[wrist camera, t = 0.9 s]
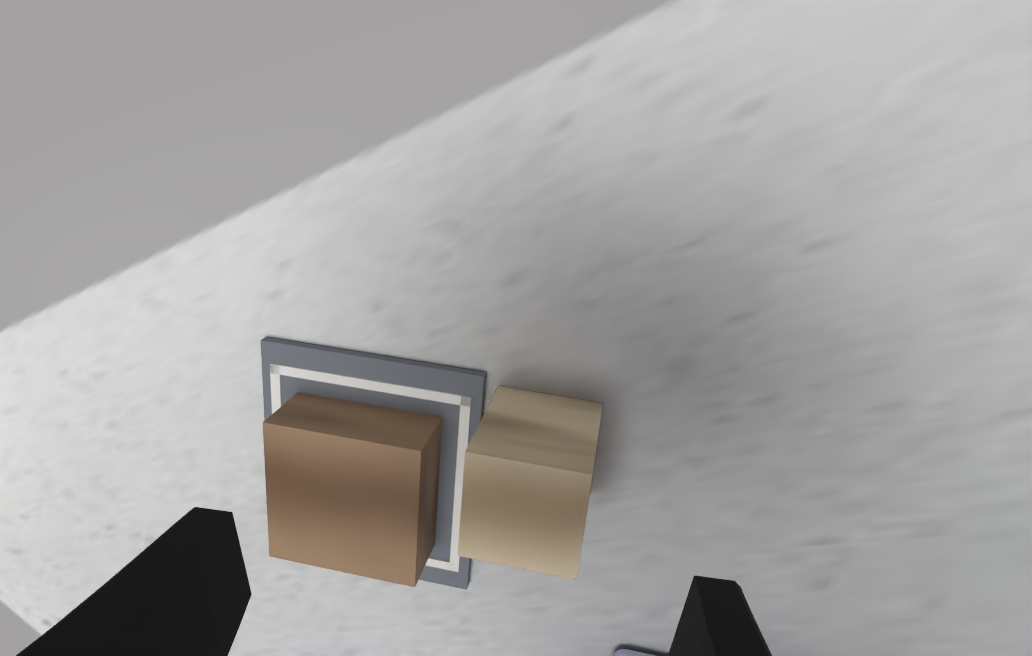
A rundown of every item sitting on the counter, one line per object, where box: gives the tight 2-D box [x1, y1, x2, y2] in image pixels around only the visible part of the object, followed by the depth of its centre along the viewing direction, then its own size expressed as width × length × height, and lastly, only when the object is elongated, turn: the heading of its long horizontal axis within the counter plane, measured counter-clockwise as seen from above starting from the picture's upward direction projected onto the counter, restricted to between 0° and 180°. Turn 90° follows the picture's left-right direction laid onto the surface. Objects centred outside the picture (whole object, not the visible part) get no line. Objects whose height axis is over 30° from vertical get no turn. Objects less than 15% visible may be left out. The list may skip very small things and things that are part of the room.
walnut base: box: [263, 392, 442, 587], centre depth 26 cm, size 6×6×3 cm
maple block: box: [458, 386, 603, 580], centre depth 24 cm, size 4×4×5 cm
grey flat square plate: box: [261, 337, 486, 589], centre depth 27 cm, size 10×9×1 cm
